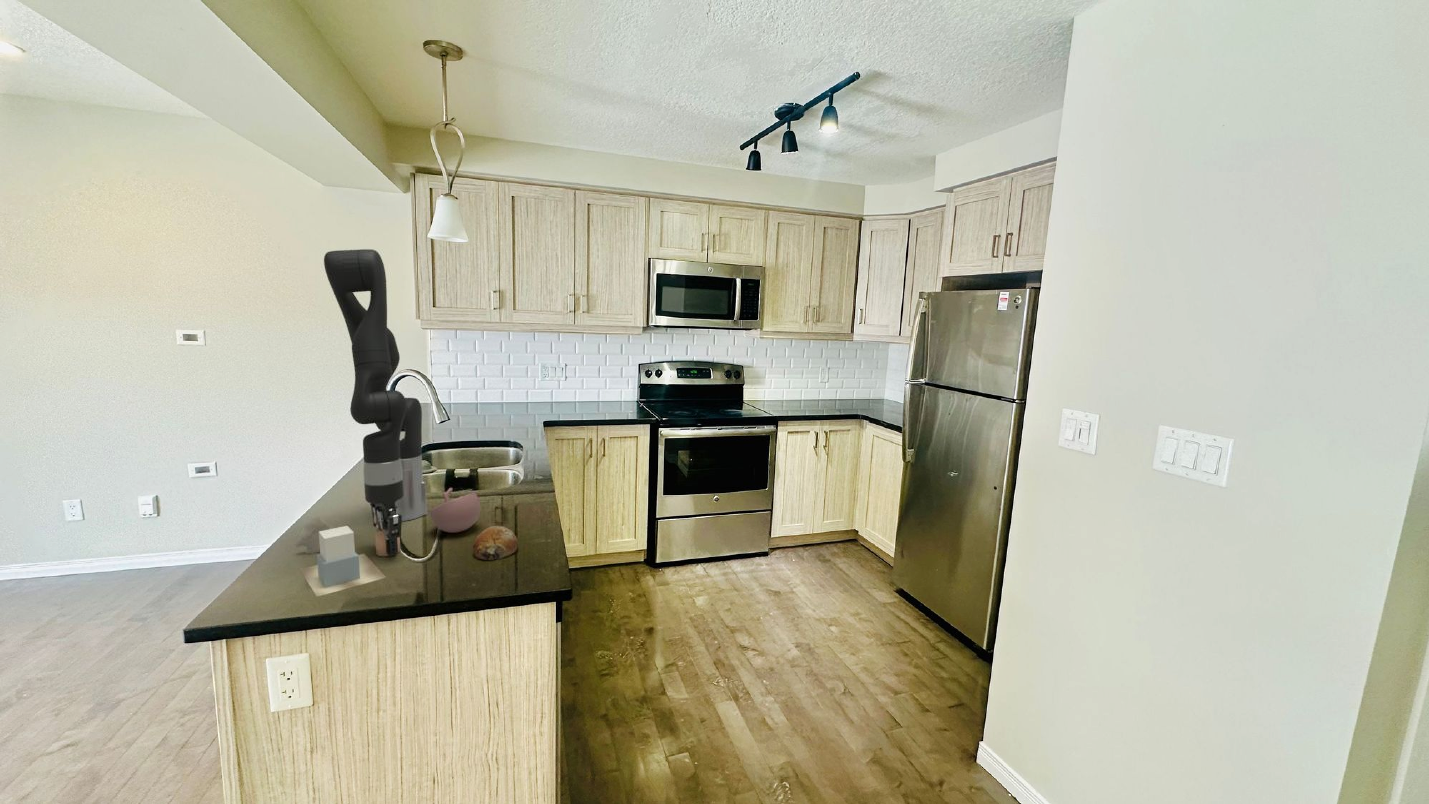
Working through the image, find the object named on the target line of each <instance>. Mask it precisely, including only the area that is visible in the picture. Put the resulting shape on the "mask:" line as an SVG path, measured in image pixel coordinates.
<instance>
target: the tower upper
mask: <svg viewBox="0 0 1429 804" xmlns="http://www.w3.org/2000/svg"><path fill="white" fill-rule="evenodd" d="M354 534H355V533H354V531H353V530H352V529H351V528H350V527H349V526H348V525H343V526H339V527H338V526H337V527H334V528H330V529H329V530H324V531H319V543H320V552H319V554H320V555H321V556H322V558H323V559H324V560H325V562H326V563H327V562H331V561H335V560H339V559H343V558H347V557H352V556H355V552H356V549H355V535H354Z"/></svg>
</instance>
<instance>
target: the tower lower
mask: <svg viewBox="0 0 1429 804" xmlns="http://www.w3.org/2000/svg"><path fill="white" fill-rule="evenodd" d="M358 555H359V554H358V553H357V552H356V551H355V556H352V557H347V558H343V559H339V560H335V561H331V562H327V563H326V562H325V560H324V559H323V558H322V556H321V555H320V553H319V554H316V560H317V565H318V575H319V579H320V580H321V582H322V583H323V585H324V586H325V588H327V587H331V586H334V585H338V584H342V583H345V582H349V581H353V580H357V579H360V569H359V556H358Z"/></svg>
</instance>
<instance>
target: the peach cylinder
mask: <svg viewBox="0 0 1429 804" xmlns="http://www.w3.org/2000/svg"><path fill="white" fill-rule="evenodd" d="M392 533H394V530H393V531H392ZM400 538H401V537H398V538H397V542H398V552H397V553H396V554H398V553H399V552H401V539H400ZM374 539H375V540H374V541H375V554H376V556H378V557H389V556H394V555H395V554H392V555H388V554H387V553H386V541H385V534H384V530H382V529H379V530H377V531H376V530H375V531H374Z"/></svg>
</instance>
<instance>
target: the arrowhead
mask: <svg viewBox="0 0 1429 804" xmlns="http://www.w3.org/2000/svg"><path fill="white" fill-rule="evenodd" d="M329 529H331V527H330V526H329V525H328V524H327V523H326V522H324V521H323V520H322V519H321V518H320V517H319V516H314V517H312V518H311V519H310V520H309V521H308V522H307V523H306V524H305V525H304V527H303V528H302V529H301V532H300V534H299V535H298V537H297V538H296V541H295V544H294V545H295V548H297V549H298V548H299V547H300V548H301V547H302V546H304V547H306V551H305V553H304V554H316V553H320V543H319V531H324V530H329Z"/></svg>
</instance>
